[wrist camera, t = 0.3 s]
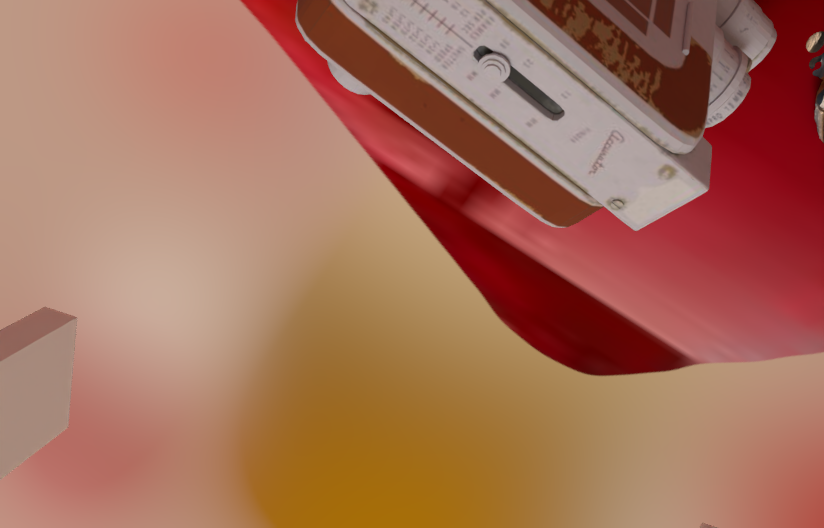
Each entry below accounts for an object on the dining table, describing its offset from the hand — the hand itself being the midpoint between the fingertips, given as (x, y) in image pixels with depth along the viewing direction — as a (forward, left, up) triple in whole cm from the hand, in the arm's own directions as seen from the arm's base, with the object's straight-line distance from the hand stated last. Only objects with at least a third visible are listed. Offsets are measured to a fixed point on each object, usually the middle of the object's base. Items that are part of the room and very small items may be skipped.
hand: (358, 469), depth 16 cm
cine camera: (+4, 0, -35) cm, 35 cm away
